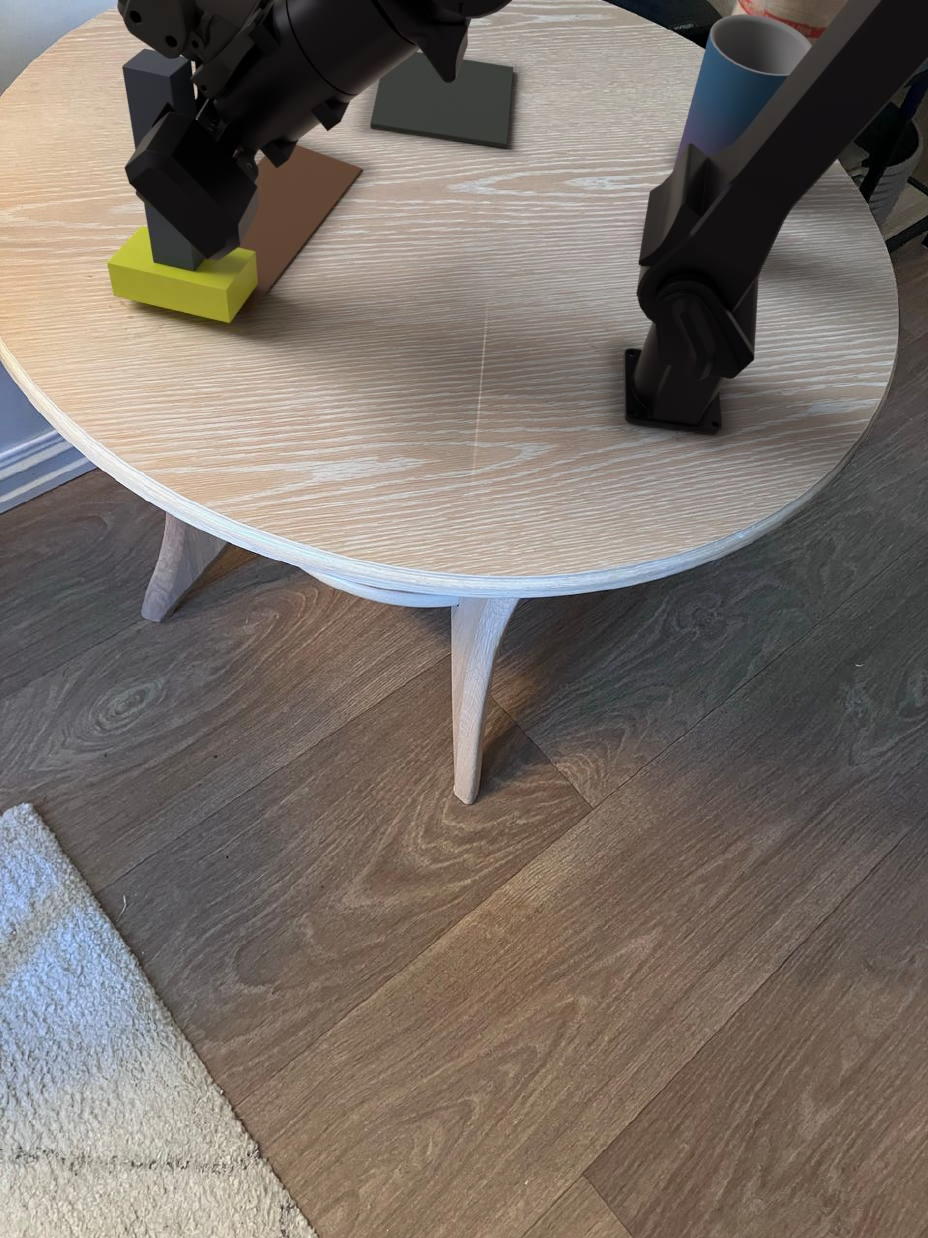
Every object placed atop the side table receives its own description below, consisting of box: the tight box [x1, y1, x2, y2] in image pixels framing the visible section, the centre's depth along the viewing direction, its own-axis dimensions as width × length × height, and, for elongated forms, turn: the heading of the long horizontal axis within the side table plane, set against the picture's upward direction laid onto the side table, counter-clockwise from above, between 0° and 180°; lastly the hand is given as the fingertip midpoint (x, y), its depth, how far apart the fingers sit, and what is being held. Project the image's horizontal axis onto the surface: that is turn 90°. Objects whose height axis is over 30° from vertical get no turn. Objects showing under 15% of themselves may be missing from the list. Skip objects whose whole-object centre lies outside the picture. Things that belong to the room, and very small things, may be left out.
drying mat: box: [369, 51, 514, 149], centre depth 77 cm, size 11×11×1 cm
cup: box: [672, 14, 812, 171], centre depth 65 cm, size 7×7×15 cm
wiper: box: [106, 48, 258, 324], centre depth 57 cm, size 5×8×14 cm, turn 76°
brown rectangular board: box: [237, 144, 363, 317], centre depth 67 cm, size 18×7×1 cm, turn 158°
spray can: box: [731, 0, 848, 46], centre depth 68 cm, size 8×8×20 cm
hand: (152, 181), depth 57 cm, fingers closed on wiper, 3 cm apart
